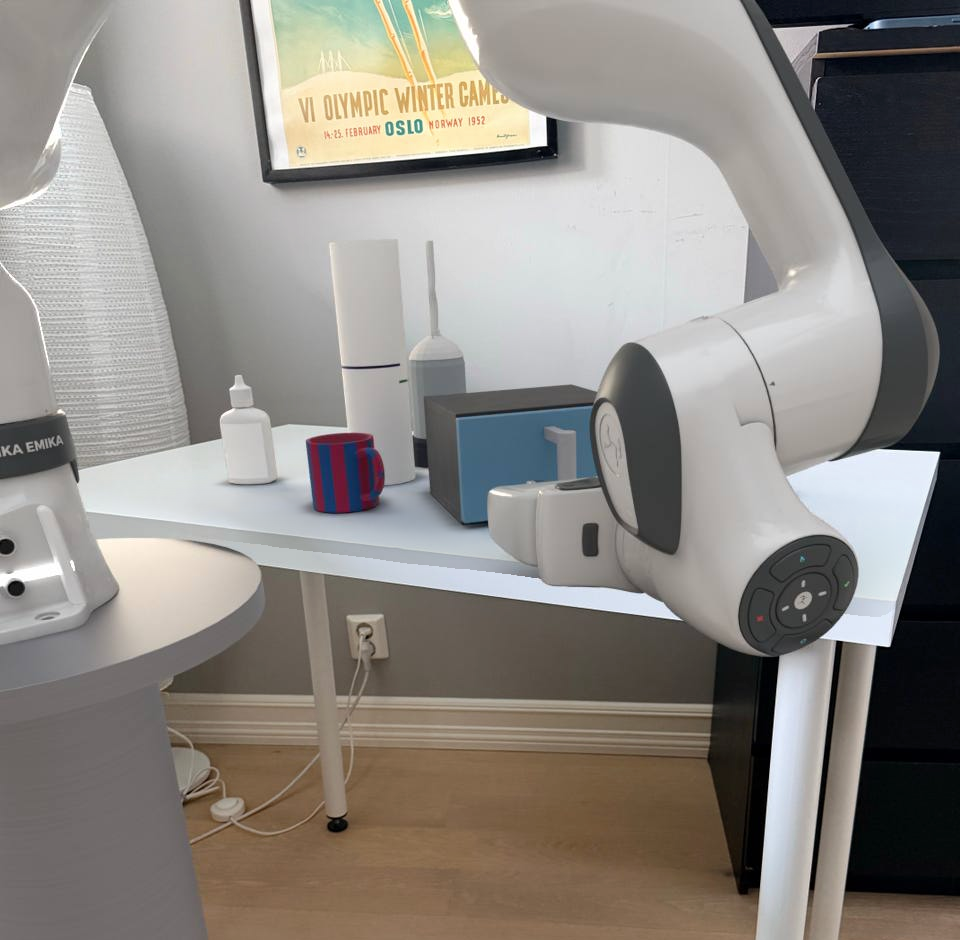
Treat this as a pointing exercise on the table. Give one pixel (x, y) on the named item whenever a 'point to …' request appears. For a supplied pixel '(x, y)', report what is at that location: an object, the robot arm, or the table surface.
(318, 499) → the mug
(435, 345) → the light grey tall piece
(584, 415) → the drawer
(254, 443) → the eye dropper bottle
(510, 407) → the dark grey cabinet
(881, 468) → the table surface
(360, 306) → the cylindrical container
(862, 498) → the table surface
